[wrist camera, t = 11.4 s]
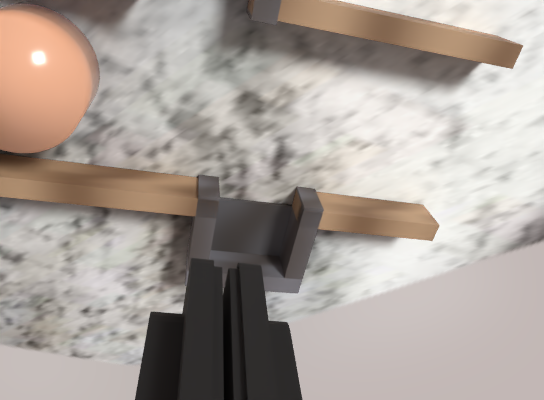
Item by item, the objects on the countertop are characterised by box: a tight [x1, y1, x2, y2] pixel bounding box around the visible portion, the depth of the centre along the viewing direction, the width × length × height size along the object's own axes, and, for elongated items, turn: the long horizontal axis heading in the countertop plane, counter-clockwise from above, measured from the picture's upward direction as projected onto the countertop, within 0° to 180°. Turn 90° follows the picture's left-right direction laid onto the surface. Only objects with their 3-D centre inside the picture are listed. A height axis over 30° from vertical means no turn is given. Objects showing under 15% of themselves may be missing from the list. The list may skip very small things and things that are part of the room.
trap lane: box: [0, 0, 523, 293], centre depth 23 cm, size 28×23×6 cm
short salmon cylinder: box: [0, 3, 100, 153], centre depth 21 cm, size 6×6×4 cm
